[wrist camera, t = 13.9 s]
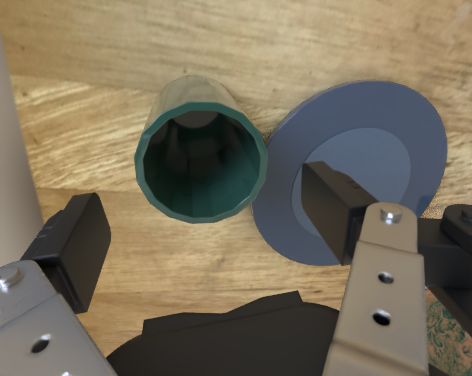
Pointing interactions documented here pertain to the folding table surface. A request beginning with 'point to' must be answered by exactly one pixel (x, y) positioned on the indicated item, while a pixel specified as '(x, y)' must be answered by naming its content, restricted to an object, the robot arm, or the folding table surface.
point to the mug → (447, 340)
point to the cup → (199, 153)
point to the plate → (350, 158)
